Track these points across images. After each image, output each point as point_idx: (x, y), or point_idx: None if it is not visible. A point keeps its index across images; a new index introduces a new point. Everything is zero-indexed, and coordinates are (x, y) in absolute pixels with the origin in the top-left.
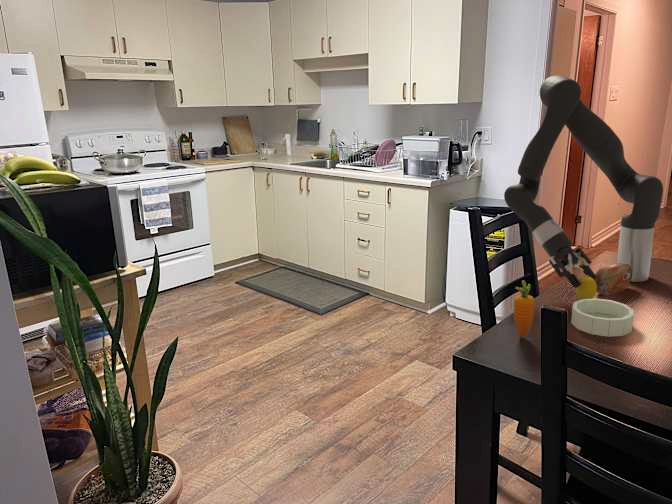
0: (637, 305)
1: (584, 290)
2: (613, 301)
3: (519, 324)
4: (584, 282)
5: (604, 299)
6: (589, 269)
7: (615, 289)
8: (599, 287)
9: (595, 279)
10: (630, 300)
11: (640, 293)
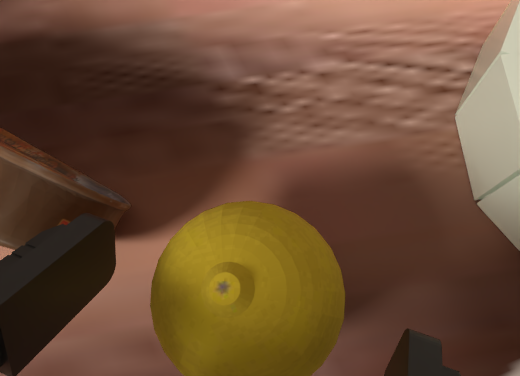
0: (205, 21)
1: (344, 295)
2: (517, 37)
3: None
4: (320, 303)
5: (513, 100)
6: (25, 287)
7: (10, 145)
8: (124, 208)
9: None
10: (138, 61)
11: (10, 37)
